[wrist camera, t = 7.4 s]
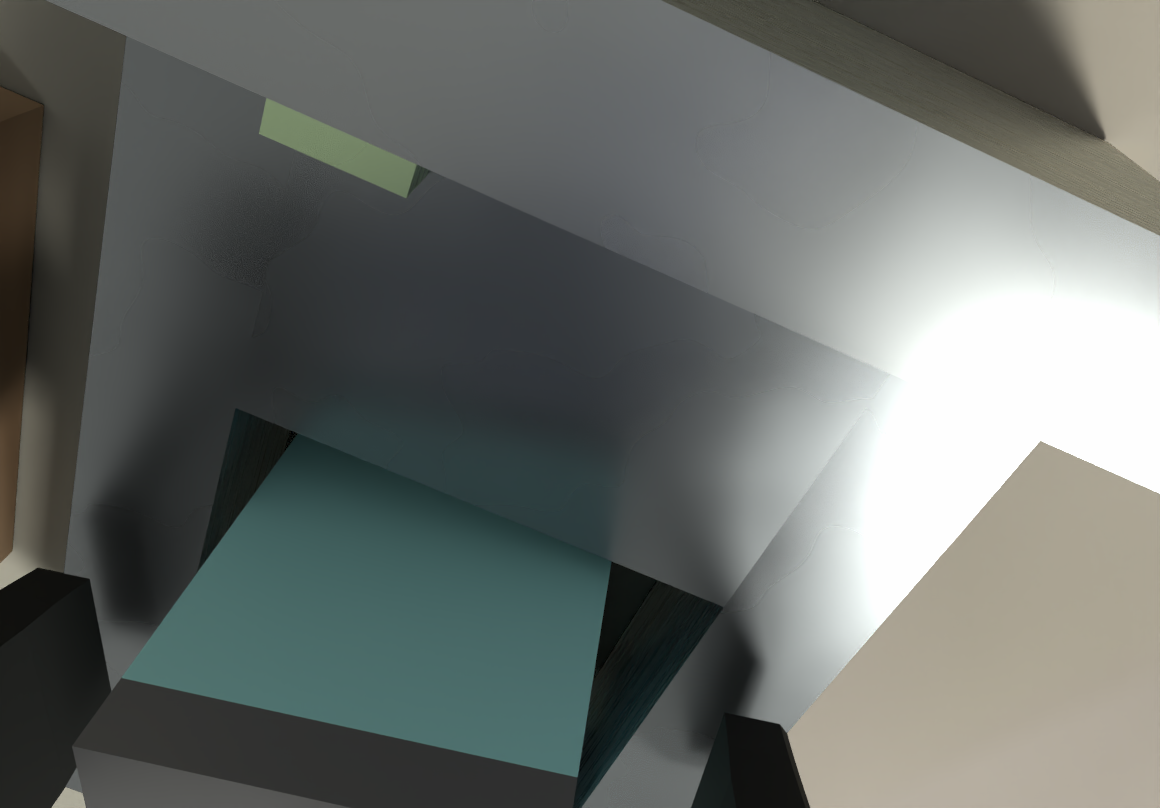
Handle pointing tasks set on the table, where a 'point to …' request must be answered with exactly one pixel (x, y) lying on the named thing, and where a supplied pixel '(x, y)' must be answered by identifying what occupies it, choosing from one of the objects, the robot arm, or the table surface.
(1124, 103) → the table surface
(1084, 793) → the table surface
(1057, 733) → the table surface
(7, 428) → the brown square frame
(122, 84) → the port
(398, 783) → the plug
